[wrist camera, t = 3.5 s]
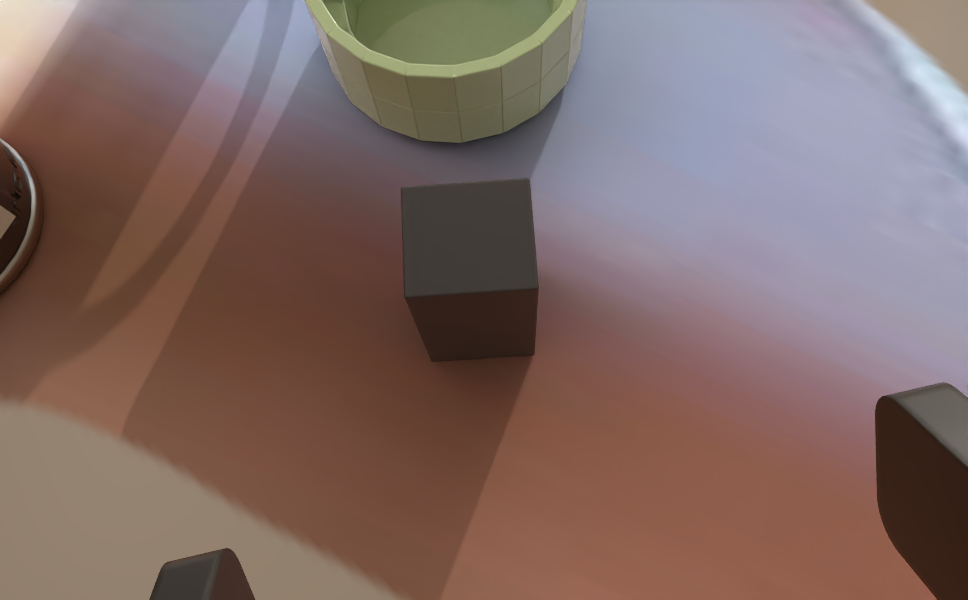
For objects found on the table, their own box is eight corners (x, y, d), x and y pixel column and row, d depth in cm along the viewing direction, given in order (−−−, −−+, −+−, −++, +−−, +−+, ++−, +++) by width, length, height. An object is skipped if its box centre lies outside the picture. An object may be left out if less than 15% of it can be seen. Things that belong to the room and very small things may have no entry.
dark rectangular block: (534, 355, 36) (538, 288, 28) (431, 362, 36) (403, 297, 28) (527, 267, 37) (529, 177, 29) (428, 273, 38) (400, 186, 29)
